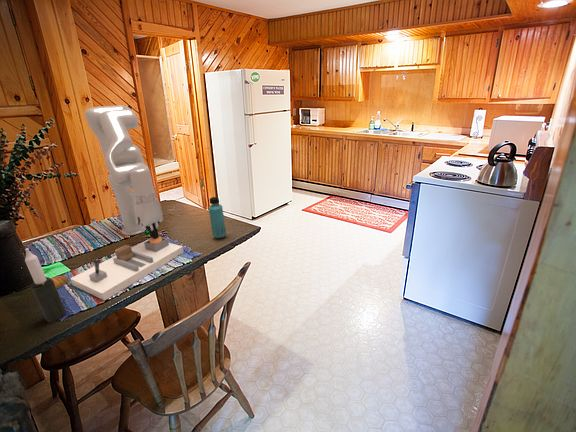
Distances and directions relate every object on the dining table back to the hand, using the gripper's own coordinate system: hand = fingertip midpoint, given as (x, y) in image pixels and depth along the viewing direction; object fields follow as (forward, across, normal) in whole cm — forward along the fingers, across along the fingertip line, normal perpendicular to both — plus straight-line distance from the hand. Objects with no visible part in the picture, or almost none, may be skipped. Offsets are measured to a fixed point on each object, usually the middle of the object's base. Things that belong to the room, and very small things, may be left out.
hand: (154, 237), depth 132 cm
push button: (+4, 0, 0) cm, 4 cm away
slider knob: (+4, +13, -3) cm, 14 cm away
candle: (+8, +43, +3) cm, 44 cm away
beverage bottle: (+8, -23, +15) cm, 29 cm away
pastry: (+8, +35, -16) cm, 40 cm away
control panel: (+8, +13, 0) cm, 15 cm away
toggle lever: (+2, +26, 0) cm, 26 cm away
